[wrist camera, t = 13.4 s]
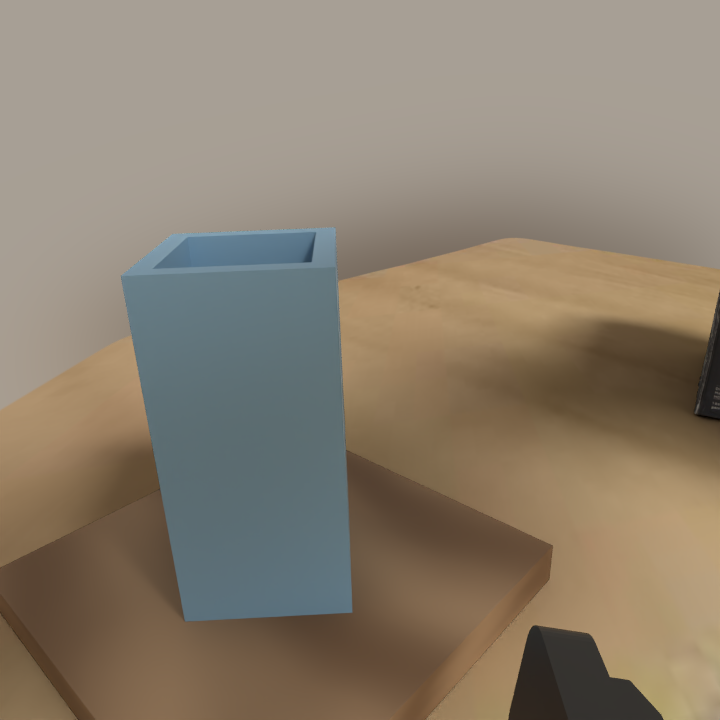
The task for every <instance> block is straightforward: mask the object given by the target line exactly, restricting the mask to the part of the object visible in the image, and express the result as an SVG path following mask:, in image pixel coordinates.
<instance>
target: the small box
mask: <svg viewBox="0 0 720 720" xmlns="http://www.w3.org/2000/svg"><path fill="white" fill-rule="evenodd" d="M698 386H699V389H698V392H697V400H696V406H695V410H694V413H695V414H698V415H702V416H708V417H714V418H719V419H720V292H719V297H718V301H717V305H716V309H715V314H714V320H713V324H712V329H711V333H710V338H709V343H708V348H707V352H706V356H705V360H704V364H703V369H702V374H701V377H700V381H699V384H698Z"/></svg>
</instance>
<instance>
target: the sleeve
mask: <svg viewBox="0 0 720 720" xmlns="http://www.w3.org/2000/svg"><path fill="white" fill-rule="evenodd" d="M337 273H338V272H337V252H336V231H335V228H311V229H287V230H261V231H237V232H211V233H186V234H172V235H171V236H170V237H168V239H166V240H165V241H163V242H162V243H161V244H160V245H159V246H158V247H156V248H155V249H154V250H152V251H151V252H150V253H149V254H147V255H146V256H145V257H144V258H142V259H141V260H140V261H139V262H138V263H136V264H135V265H134V266H133V267H131V268H130V269H129V270H128V271H126V272H125V273H124V274H123V275H121V280H122V285H123V291H124V296H125V301H126V307H127V312H128V317H129V322H130V328H131V334H132V339H133V345H134V350H135V355H136V361H137V366H138V371H139V377H140V382H141V388H142V393H143V398H144V404H145V409H146V415H147V420H148V425H149V431H150V436H151V441H152V447H153V452H154V458H155V463H156V468H157V474H158V479H159V485H160V490H161V495H162V501H163V506H164V511H165V517H166V522H167V528H168V533H169V538H170V544H171V549H172V554H173V560H174V565H175V571H176V576H177V581H178V587H179V592H180V598H181V603H182V608H183V614H184V619H185V622H187V621H206V620H224V619H243V618H262V617H280V616H299V615H318V614H336V613H352V586H351V557H350V527H349V502H348V481H347V460H346V439H345V418H344V398H343V377H342V356H341V335H340V314H339V293H338V274H337Z"/></svg>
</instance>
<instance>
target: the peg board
mask: <svg viewBox="0 0 720 720" xmlns="http://www.w3.org/2000/svg"><path fill="white" fill-rule="evenodd" d="M346 460H347V481H348V502H349V527H350V557H351V586H352V613H336V614H318V615H299V616H280V617H262V618H243V619H224V620H206V621H187V622H185V619H184V614H183V608H182V603H181V598H180V592H179V587H178V581H177V576H176V571H175V565H174V560H173V554H172V549H171V544H170V538H169V533H168V528H167V522H166V517H165V511H164V506H163V501H162V495H161V490H160V489H159V490H157V491H155V492H153V493H151V494H149V495H147V496H145V497H143V498H141V499H139V500H137V501H135V502H133V503H131V504H129V505H127V506H125V507H123V508H121V509H119V510H117V511H114V512H112V513H110V514H108V515H106V516H104V517H102V518H100V519H98V520H96V521H94V522H92V523H90V524H88V525H86V526H84V527H82V528H80V529H78V530H76V531H74V532H72V533H70V534H68V535H66V536H64V537H62V538H60V539H58V540H56V541H54V542H52V543H50V544H47V545H45V546H43V547H41V548H39V549H37V550H35V551H33V552H31V553H29V554H27V555H25V556H23V557H21V558H19V559H17V560H15V561H13V562H11V563H9V564H7V565H5V566H3V567H1V568H0V612H1V614H2V615H3V617H4V618H5V619H6V621H7V622H8V623H9V625H10V626H11V628H12V629H13V630H14V632H15V633H16V634H17V636H18V637H19V639H20V640H21V641H22V643H23V644H24V645H25V647H26V648H27V650H28V651H29V652H30V654H31V655H32V656H33V658H34V659H35V661H36V662H37V663H38V665H39V666H40V667H41V669H42V670H43V672H44V673H45V674H46V676H47V677H48V678H49V680H50V681H51V683H52V684H53V685H54V687H55V688H56V690H57V691H58V692H59V694H60V695H61V696H62V698H63V699H64V701H65V702H66V703H67V705H68V706H69V707H70V709H71V710H72V712H73V713H74V714H75V716H76V717H77V718H78V720H425V719H426V718H427V717H428V715H429V714H430V713H431V712H432V711H433V710H434V709H435V708H436V706H437V705H438V704H439V703H440V702H441V701H442V700H443V698H444V697H445V696H446V695H447V694H448V693H449V692H450V691H451V689H452V688H453V687H454V686H455V685H456V684H457V683H458V682H459V680H460V679H461V678H462V677H463V676H464V675H465V674H466V673H467V671H468V670H469V669H470V668H471V667H472V666H473V665H474V663H475V662H476V661H477V660H478V659H479V658H480V657H481V656H482V654H483V653H484V652H485V651H486V650H487V649H488V648H489V647H490V645H491V644H492V643H493V642H494V641H495V640H496V639H497V638H498V636H499V635H500V634H501V633H502V632H503V631H504V630H505V628H506V627H507V626H508V625H509V624H510V623H511V622H512V621H513V619H514V618H515V617H516V616H517V615H518V614H519V613H520V612H521V610H522V609H523V608H524V607H525V606H526V605H527V604H528V603H529V601H530V600H531V599H532V598H533V597H534V596H535V595H536V593H537V592H538V591H539V590H540V589H541V588H542V587H543V586H544V584H545V583H546V582H547V581H548V580H549V576H550V567H551V558H552V548H553V546H552V545H550V544H548V543H546V542H544V541H541V540H539V539H537V538H535V537H533V536H531V535H528V534H526V533H524V532H522V531H520V530H518V529H516V528H513V527H511V526H509V525H507V524H505V523H503V522H500V521H498V520H496V519H494V518H492V517H490V516H487V515H485V514H483V513H481V512H479V511H477V510H474V509H472V508H470V507H468V506H466V505H464V504H461V503H459V502H457V501H455V500H453V499H451V498H449V497H446V496H444V495H442V494H440V493H438V492H436V491H433V490H431V489H429V488H427V487H425V486H423V485H420V484H418V483H416V482H414V481H412V480H410V479H407V478H405V477H403V476H401V475H399V474H397V473H394V472H392V471H390V470H388V469H386V468H384V467H382V466H379V465H377V464H375V463H373V462H371V461H369V460H366V459H364V458H362V457H360V456H358V455H356V454H353V453H351V452H349V451H347V450H346Z"/></svg>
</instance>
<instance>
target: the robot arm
mask: <svg viewBox="0 0 720 720" xmlns="http://www.w3.org/2000/svg"><path fill="white" fill-rule="evenodd" d="M508 720H663V718H662V716H661V714H660V713H659V712H658V711H657V710H656V709H655V708H654V706H653V705H652V704H651V703H650V702H649V701H648V700H647V699H646V698H645V697H644V695H643V694H642V693H641V692H640V691H639V690H638V689H637V688H636V687H635V686H634V685H633V683H632V682H631V681H630V680H624V679H618V678H611V677H609V674H608V672H607V670H606V667H605V665H604V662H603V660H602V658H601V655H600V653H599V651H598V648H597V646H596V643H595V641H594V639H593V638H592V636H591V635H590V634H588V633H582V632H576V631H569V630H562V629H556V628H549V627H543V626H536V625H535V626H533V627H532V628H531V629H530V631H529V634H528V637H527V641H526V645H525V649H524V653H523V658H522V662H521V666H520V670H519V674H518V679H517V683H516V687H515V691H514V696H513V700H512V704H511V708H510V713H509V719H508Z"/></svg>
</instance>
